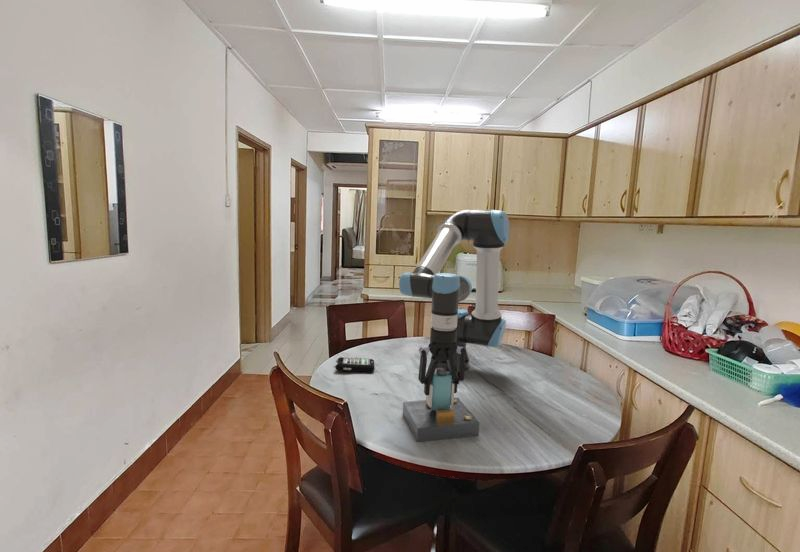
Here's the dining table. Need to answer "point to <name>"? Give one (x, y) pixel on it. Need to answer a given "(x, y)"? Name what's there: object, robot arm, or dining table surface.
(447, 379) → the pump
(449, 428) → the fixture block
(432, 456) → the dining table surface
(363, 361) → the phone
